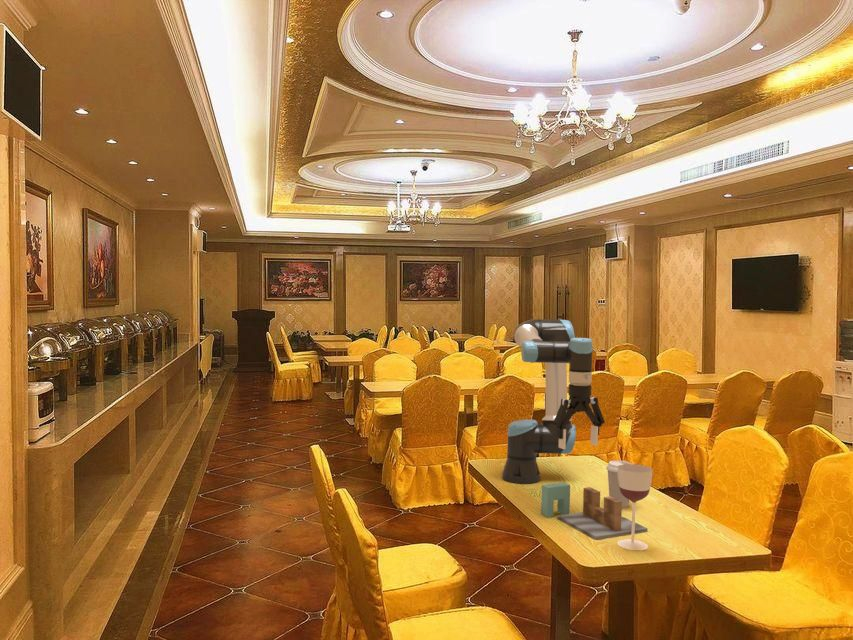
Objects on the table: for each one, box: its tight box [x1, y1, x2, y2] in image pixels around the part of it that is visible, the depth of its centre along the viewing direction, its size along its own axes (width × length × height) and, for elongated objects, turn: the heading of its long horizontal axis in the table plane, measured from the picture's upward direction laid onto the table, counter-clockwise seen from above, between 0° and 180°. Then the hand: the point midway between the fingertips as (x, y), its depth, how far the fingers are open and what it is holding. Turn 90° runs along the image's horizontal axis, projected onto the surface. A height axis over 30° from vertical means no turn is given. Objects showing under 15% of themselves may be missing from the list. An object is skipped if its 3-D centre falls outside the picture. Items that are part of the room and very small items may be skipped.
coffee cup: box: [605, 460, 632, 509], centre depth 231 cm, size 10×10×15 cm
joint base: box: [556, 486, 648, 541], centre depth 211 cm, size 20×20×10 cm
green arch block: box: [540, 481, 571, 518], centre depth 220 cm, size 4×9×10 cm, turn 114°
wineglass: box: [617, 463, 654, 551], centre depth 194 cm, size 9×10×23 cm
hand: (578, 446), depth 221 cm, fingers open, 13 cm apart
